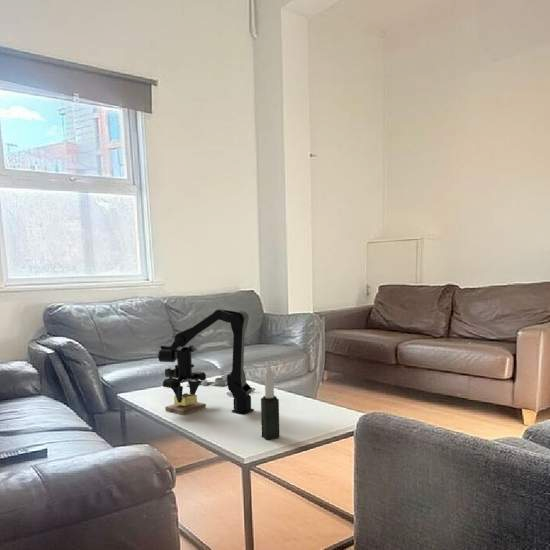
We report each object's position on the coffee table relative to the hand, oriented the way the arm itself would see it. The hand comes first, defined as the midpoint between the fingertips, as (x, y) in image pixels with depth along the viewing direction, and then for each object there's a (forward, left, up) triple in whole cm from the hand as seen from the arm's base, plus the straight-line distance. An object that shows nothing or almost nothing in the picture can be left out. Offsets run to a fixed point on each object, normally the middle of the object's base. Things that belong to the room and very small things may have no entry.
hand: (185, 400), depth 197 cm
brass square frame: (0, 0, -1) cm, 1 cm away
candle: (-49, +7, -4) cm, 50 cm away
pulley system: (+21, -39, -4) cm, 44 cm away
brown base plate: (0, 0, -4) cm, 4 cm away
